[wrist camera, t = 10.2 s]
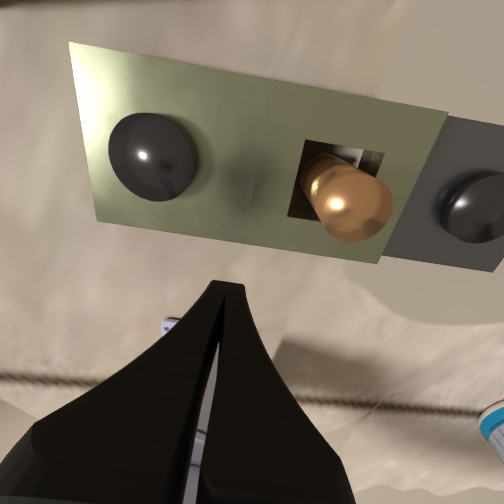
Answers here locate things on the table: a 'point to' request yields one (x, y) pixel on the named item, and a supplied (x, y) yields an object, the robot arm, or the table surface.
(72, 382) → the table surface
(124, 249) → the table surface
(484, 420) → the beverage bottle
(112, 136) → the green peg socket base
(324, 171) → the copper pin
